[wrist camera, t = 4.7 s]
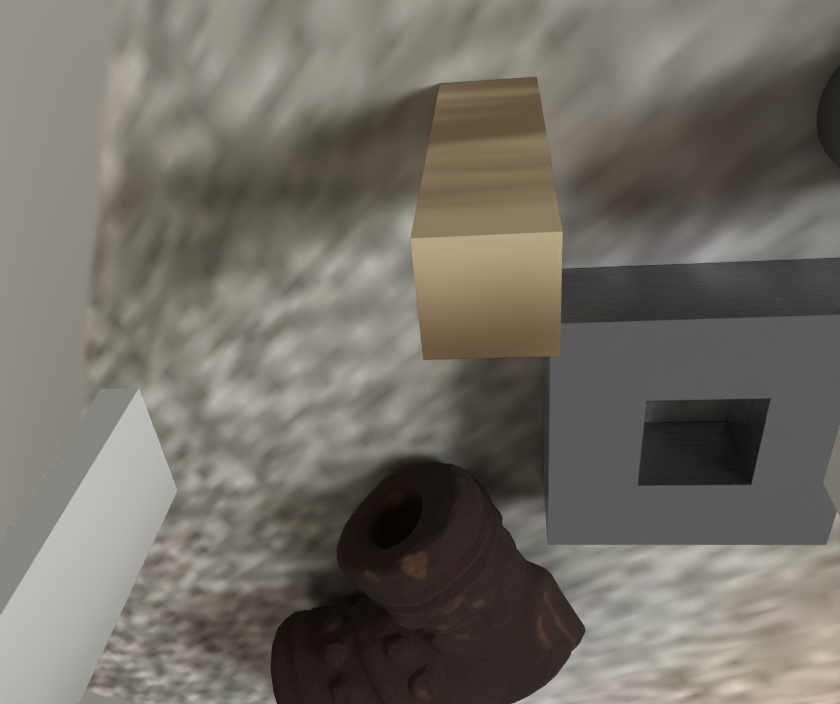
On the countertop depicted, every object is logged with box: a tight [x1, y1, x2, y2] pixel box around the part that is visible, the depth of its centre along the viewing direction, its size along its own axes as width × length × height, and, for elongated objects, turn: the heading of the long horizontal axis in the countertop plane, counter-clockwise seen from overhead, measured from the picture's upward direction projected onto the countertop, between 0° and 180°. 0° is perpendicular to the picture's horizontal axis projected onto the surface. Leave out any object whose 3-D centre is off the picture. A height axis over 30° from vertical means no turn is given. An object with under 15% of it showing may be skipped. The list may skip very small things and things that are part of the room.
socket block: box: [543, 258, 840, 545], centre depth 32 cm, size 12×12×4 cm
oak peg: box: [411, 77, 563, 360], centre depth 23 cm, size 3×3×12 cm
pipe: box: [271, 462, 585, 704], centre depth 40 cm, size 10×15×15 cm
